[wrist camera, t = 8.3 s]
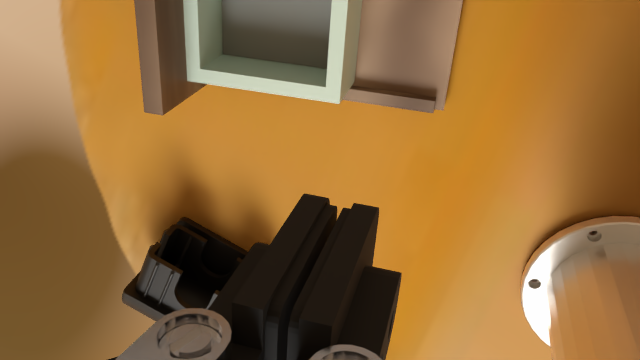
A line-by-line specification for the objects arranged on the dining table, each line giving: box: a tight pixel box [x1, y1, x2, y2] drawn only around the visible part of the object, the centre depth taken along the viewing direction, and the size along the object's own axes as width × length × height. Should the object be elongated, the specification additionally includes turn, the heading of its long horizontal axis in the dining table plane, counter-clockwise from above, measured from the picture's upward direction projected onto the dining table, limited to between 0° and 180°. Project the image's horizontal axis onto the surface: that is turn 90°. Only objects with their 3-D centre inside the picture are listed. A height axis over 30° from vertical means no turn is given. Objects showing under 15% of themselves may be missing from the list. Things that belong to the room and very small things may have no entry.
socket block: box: [183, 0, 362, 104], centre depth 34 cm, size 10×10×4 cm
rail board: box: [134, 0, 463, 115], centre depth 33 cm, size 17×12×9 cm
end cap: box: [122, 217, 248, 321], centre depth 47 cm, size 10×7×7 cm
